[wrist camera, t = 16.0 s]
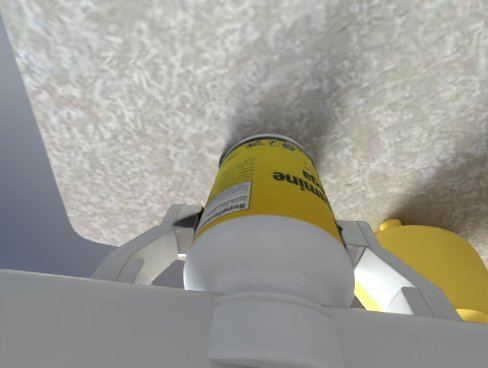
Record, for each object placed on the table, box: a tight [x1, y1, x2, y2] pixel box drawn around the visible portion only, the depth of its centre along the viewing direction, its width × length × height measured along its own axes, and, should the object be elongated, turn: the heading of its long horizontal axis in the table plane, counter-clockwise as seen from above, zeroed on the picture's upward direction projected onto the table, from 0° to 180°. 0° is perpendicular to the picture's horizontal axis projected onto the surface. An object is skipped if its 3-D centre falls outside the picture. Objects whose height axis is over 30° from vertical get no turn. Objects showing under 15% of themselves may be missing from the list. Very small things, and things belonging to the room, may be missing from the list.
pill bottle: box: [183, 134, 355, 368], centre depth 10 cm, size 6×6×11 cm
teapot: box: [354, 219, 488, 323], centre depth 29 cm, size 20×16×14 cm
